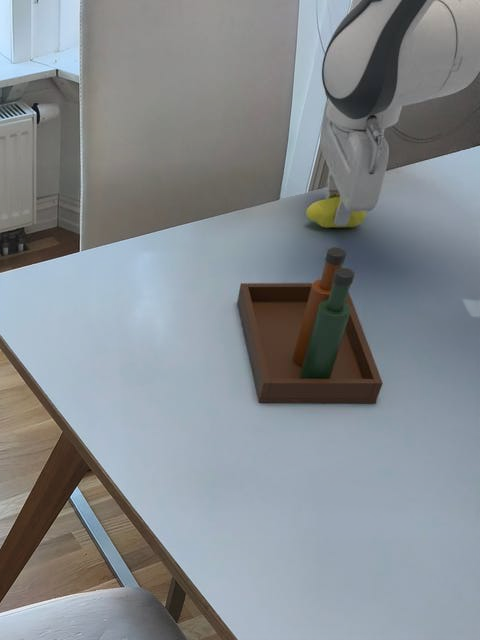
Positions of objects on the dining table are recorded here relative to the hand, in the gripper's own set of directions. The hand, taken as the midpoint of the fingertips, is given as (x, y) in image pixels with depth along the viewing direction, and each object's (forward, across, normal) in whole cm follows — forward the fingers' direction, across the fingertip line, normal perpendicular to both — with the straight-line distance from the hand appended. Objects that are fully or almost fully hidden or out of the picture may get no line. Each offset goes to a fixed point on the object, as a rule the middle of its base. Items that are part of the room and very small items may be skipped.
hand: (335, 213), depth 120 cm
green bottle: (+1, -37, +9) cm, 38 cm away
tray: (+2, -30, +9) cm, 31 cm away
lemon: (+2, 0, 0) cm, 2 cm away
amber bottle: (+1, -33, +9) cm, 34 cm away
